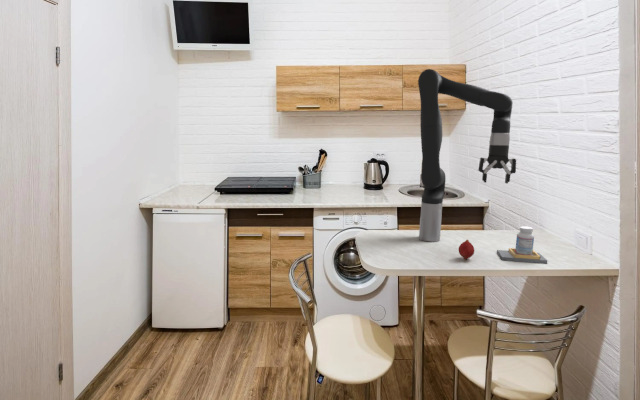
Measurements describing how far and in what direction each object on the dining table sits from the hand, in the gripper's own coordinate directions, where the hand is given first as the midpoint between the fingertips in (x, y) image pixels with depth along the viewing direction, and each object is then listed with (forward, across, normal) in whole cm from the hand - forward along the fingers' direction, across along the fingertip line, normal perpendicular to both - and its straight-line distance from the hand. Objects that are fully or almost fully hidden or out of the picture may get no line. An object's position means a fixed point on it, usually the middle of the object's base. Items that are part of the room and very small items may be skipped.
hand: (495, 182), depth 169 cm
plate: (+28, +9, -14) cm, 32 cm away
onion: (+28, -13, -21) cm, 38 cm away
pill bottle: (+27, +10, -14) cm, 32 cm away
